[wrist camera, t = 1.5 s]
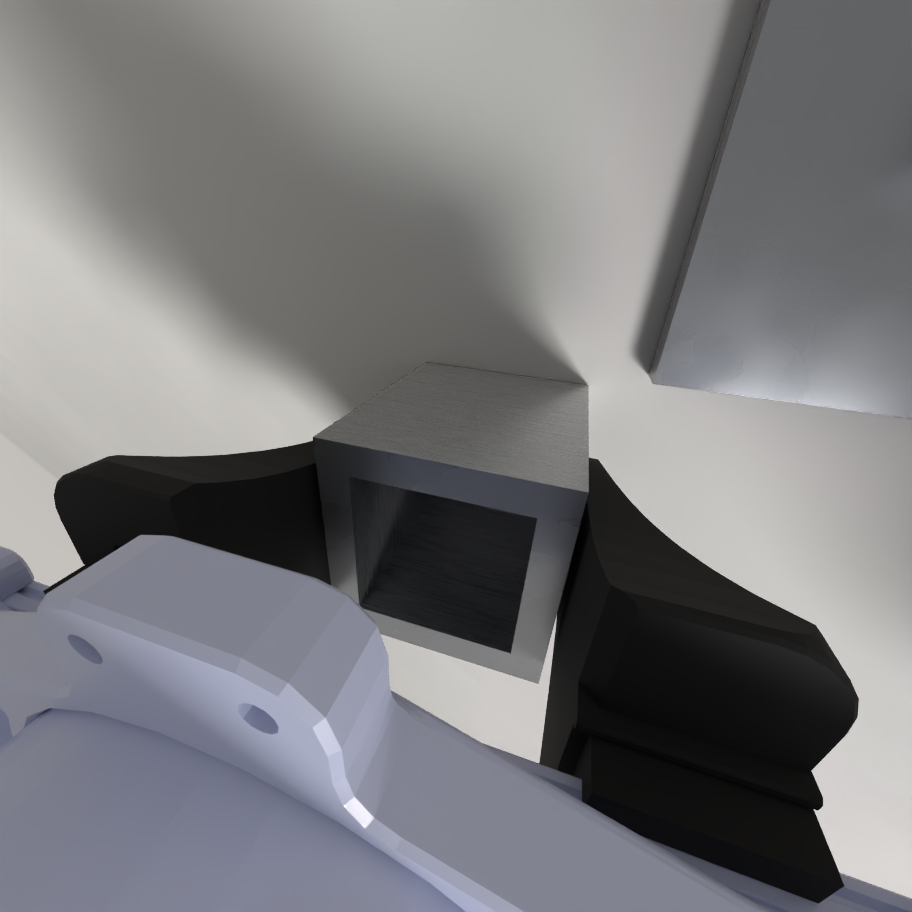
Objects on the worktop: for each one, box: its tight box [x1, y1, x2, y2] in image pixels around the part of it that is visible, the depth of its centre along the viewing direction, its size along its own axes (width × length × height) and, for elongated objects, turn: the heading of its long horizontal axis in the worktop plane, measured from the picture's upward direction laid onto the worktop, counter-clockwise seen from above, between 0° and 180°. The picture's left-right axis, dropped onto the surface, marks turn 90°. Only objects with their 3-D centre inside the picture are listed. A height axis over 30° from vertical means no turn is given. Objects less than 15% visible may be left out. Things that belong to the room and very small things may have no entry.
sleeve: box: [313, 362, 589, 684], centre depth 11 cm, size 5×5×6 cm
